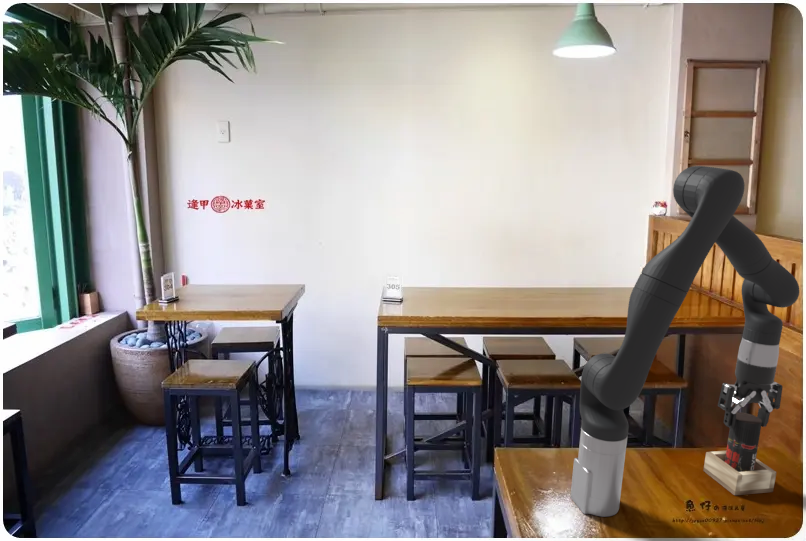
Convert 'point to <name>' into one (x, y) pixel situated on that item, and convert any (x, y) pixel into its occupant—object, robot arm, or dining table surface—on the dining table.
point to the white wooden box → (739, 475)
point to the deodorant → (743, 442)
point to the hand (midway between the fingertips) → (745, 426)
